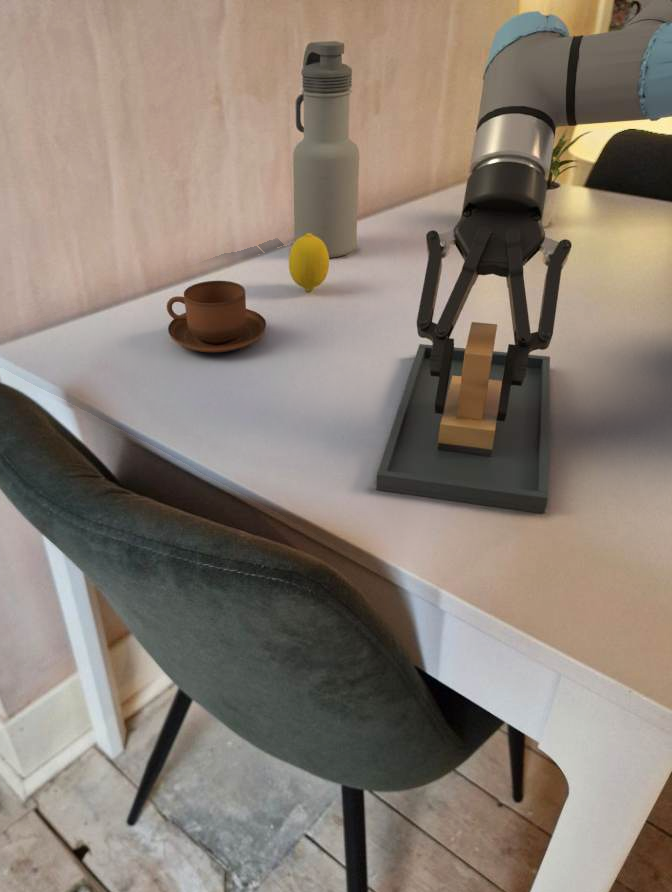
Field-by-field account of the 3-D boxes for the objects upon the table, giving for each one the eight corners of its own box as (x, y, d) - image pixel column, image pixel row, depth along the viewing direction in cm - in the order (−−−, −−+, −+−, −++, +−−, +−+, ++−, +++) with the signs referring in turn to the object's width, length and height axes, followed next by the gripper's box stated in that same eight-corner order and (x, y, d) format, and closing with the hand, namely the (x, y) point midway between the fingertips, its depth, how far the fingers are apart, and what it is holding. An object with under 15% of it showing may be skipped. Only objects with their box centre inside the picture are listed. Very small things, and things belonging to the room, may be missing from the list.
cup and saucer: (171, 365, 89) (165, 315, 85) (168, 324, 99) (162, 277, 95) (273, 356, 90) (271, 306, 87) (260, 316, 100) (258, 270, 96)
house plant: (464, 222, 130) (477, 116, 120) (511, 205, 137) (527, 104, 127) (537, 241, 121) (557, 129, 111) (583, 222, 129) (606, 115, 119)
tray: (418, 357, 90) (419, 343, 89) (547, 370, 86) (550, 356, 85) (375, 489, 68) (376, 474, 67) (544, 513, 65) (547, 497, 64)
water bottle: (285, 242, 124) (281, 41, 107) (341, 235, 126) (345, 36, 109) (306, 262, 116) (304, 48, 99) (365, 254, 118) (374, 44, 101)
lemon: (299, 281, 110) (299, 225, 105) (334, 287, 108) (336, 229, 103) (282, 295, 106) (281, 236, 101) (318, 301, 104) (319, 242, 99)
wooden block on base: (449, 400, 80) (459, 314, 74) (497, 405, 79) (512, 318, 73) (437, 449, 73) (447, 358, 67) (490, 456, 71) (506, 364, 66)
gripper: (598, 206, 75) (565, 435, 72) (415, 196, 79) (377, 412, 76) (614, 161, 67) (578, 414, 65) (411, 152, 72) (369, 390, 69)
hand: (470, 412), depth 71 cm, fingers closed on wooden block on base, 5 cm apart
